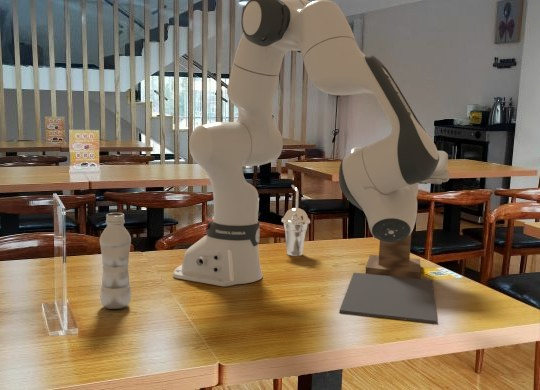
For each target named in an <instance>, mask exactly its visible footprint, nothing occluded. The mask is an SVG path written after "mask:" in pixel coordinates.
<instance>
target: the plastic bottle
mask: <svg viewBox="0 0 540 390" xmlns="http://www.w3.org/2000/svg"><path fill="white" fill-rule="evenodd" d="M105 217H106V218H105V219H106V220H105V224H106V227H105V228H104V230H103V231H102V233H101V235H100V236H99V246H100V253H101V260H102V262H101V263H102V279H101V280H102V281H101V288H100V292H99V293H100V295H99V298H100V303H101V304H102V306H103V307H104V308H106V309H112V310H117V309H119V310H120V309H124V308H126V307H128V306H129V304H130V303H131V299H132V296H133V295H132V294H133V293H132V287H131V284H130V274H129V263H130V261H129V260H130V251H131V243H132V237H131V234H130V233H129V231H128V229H126V227H125V226H124V224H125V214H124V213H123V212H110V213H106V215H105Z"/></svg>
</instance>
